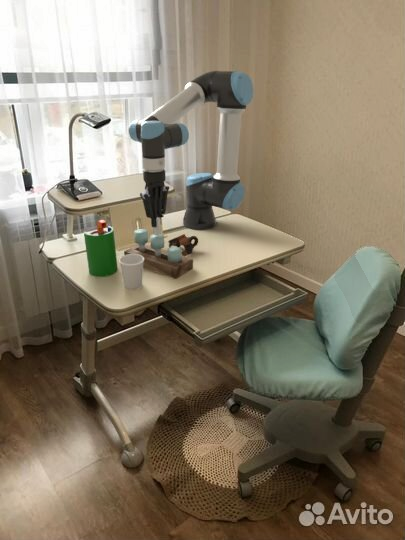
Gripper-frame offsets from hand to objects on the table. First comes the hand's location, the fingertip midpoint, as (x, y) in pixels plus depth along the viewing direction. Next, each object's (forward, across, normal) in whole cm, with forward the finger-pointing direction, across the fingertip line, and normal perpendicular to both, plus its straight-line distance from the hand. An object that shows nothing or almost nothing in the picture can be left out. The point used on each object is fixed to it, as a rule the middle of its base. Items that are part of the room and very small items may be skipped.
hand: (156, 234), depth 157 cm
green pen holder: (+13, -15, +12) cm, 23 cm away
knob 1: (+9, 0, +8) cm, 12 cm away
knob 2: (+9, 0, 0) cm, 9 cm away
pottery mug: (+13, +15, 0) cm, 20 cm away
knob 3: (+12, 0, -8) cm, 14 cm away
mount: (+12, 0, 0) cm, 12 cm away
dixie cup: (+13, -17, -4) cm, 22 cm away
